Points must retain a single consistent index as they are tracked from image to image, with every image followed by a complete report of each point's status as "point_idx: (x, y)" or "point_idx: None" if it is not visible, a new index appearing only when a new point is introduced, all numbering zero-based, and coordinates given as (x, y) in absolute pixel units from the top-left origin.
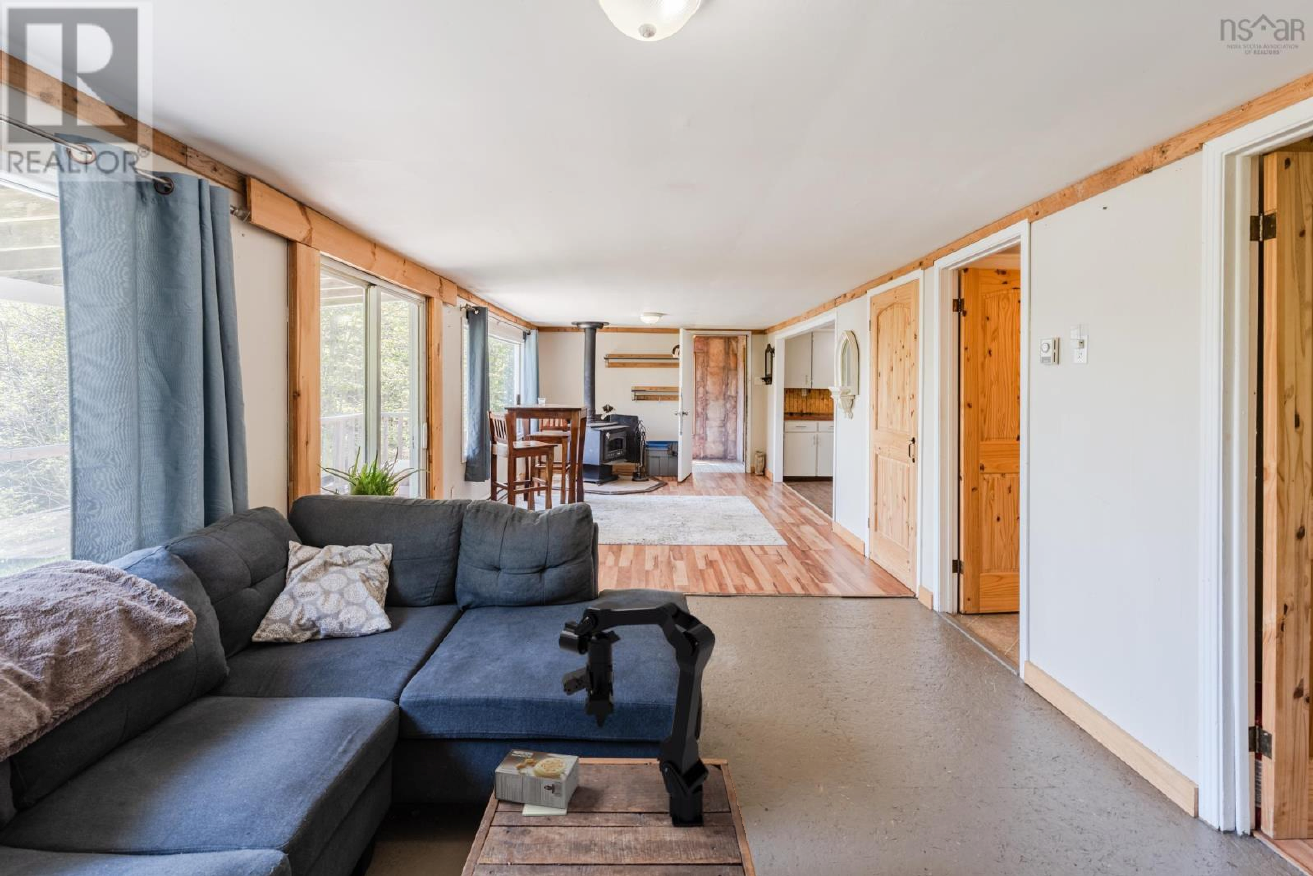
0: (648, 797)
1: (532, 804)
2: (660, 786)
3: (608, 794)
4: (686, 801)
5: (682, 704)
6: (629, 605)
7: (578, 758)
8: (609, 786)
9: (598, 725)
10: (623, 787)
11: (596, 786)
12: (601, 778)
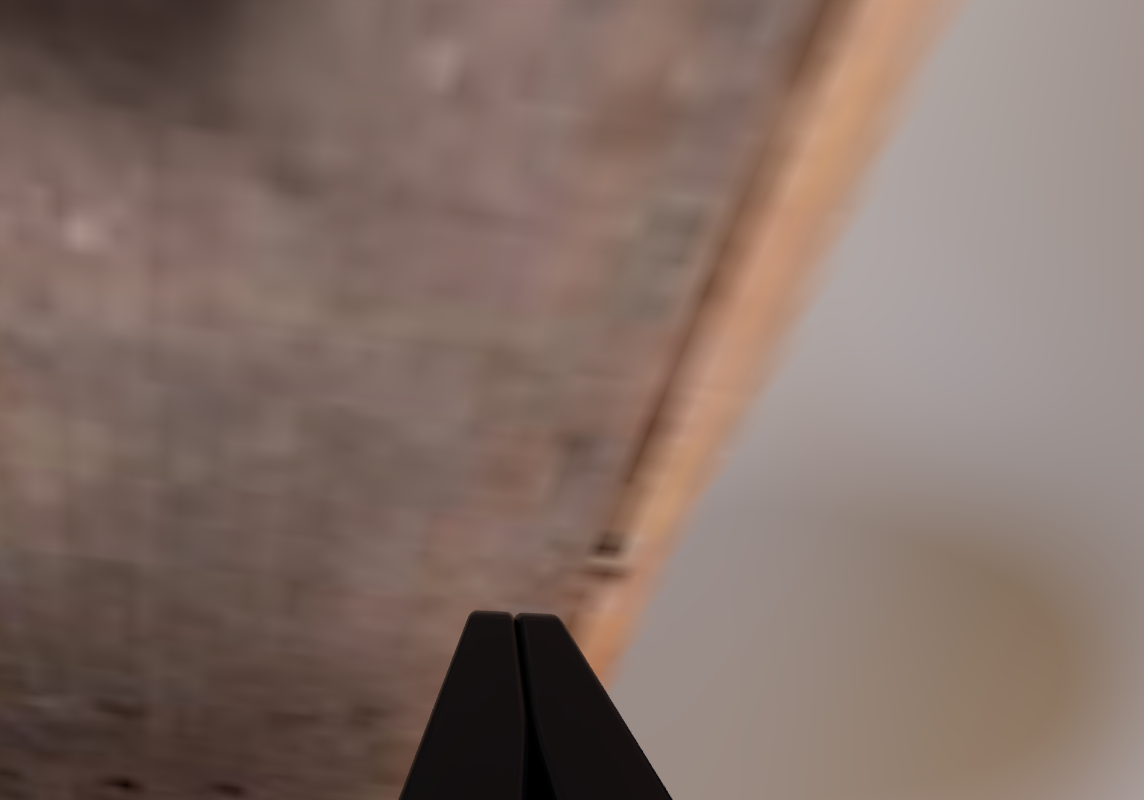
0: (77, 502)
1: None
2: (242, 595)
3: (130, 170)
4: None
5: None
6: None
7: None
8: (288, 201)
9: (458, 662)
10: (255, 331)
11: (305, 53)
12: (464, 134)
